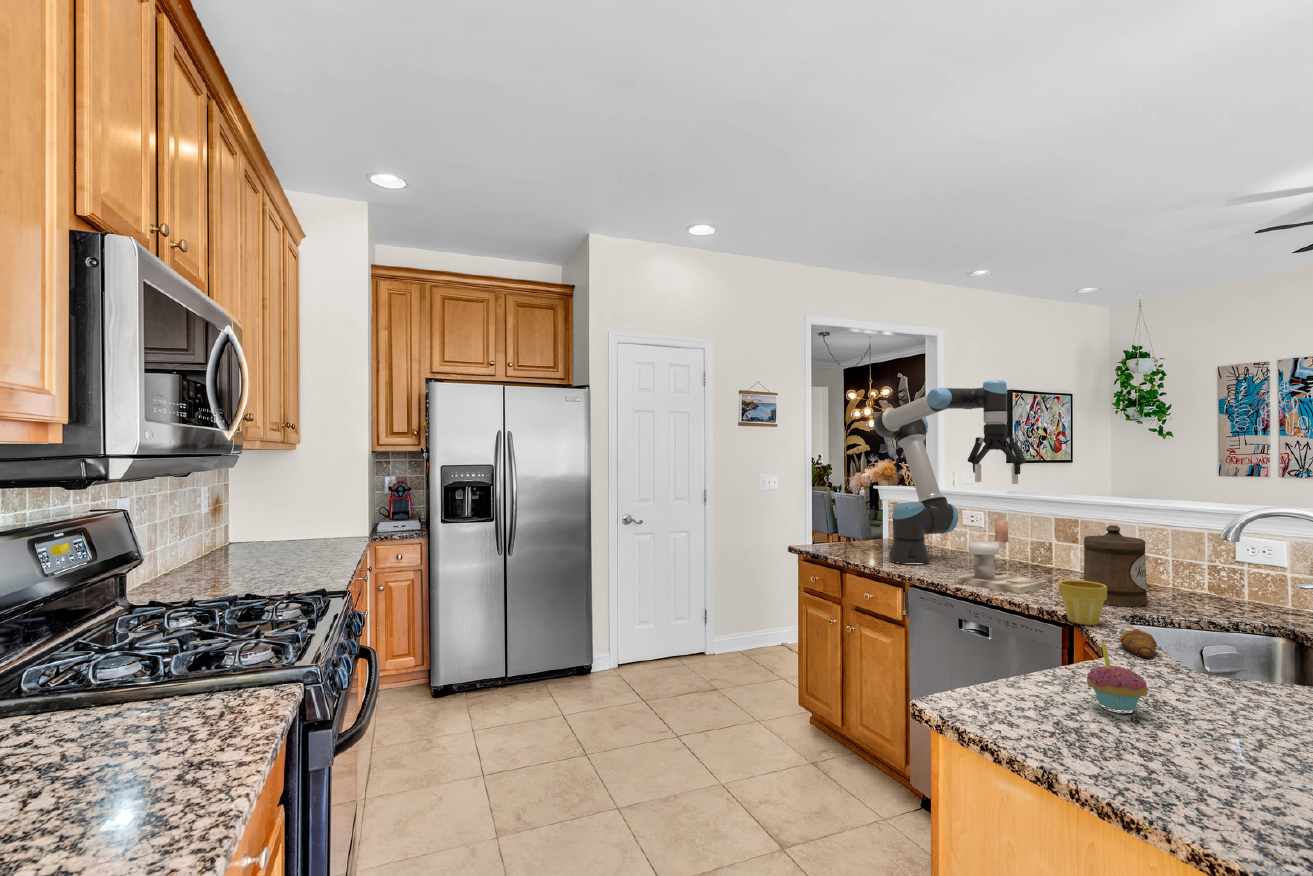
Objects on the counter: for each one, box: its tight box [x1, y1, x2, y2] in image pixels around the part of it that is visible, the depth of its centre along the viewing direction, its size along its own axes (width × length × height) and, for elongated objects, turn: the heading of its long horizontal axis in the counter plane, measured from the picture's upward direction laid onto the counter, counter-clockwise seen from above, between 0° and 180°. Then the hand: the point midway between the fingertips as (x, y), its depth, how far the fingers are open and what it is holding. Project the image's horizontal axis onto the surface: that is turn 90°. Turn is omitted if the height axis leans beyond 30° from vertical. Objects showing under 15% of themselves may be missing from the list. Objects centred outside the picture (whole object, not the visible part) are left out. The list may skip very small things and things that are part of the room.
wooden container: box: [1083, 524, 1148, 607], centre depth 185 cm, size 15×15×22 cm
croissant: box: [1119, 628, 1158, 659], centre depth 141 cm, size 14×7×5 cm, turn 156°
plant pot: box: [1058, 579, 1107, 626], centre depth 164 cm, size 10×10×10 cm
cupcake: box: [1086, 638, 1149, 711], centre depth 110 cm, size 9×8×12 cm
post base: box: [955, 554, 1048, 595], centre depth 209 cm, size 21×16×10 cm
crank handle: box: [968, 519, 1010, 556], centre depth 213 cm, size 18×9×10 cm, turn 122°
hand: (996, 483), depth 228 cm, fingers open, 13 cm apart
